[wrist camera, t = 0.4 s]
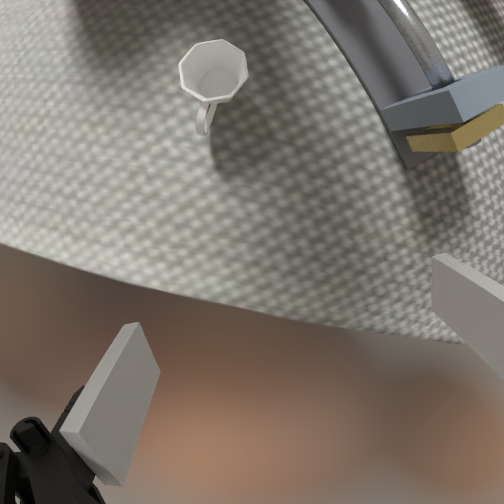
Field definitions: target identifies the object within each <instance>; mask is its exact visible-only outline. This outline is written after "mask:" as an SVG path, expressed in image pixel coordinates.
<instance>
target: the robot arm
mask: <svg viewBox="0 0 504 504" xmlns="http://www.w3.org/2000/svg"><path fill="white" fill-rule="evenodd" d="M431 310H432V311H433V312H434V313H435V314H436V315H437V316H438V317H439V318H440V319H442V320H443V321H444V322H445V323H446V324H447V325H448V326H449V327H450V328H451V329H452V330H453V331H454V332H456V333H457V334H458V335H459V336H460V337H461V338H462V339H463V340H464V341H465V342H466V343H467V344H468V345H469V346H470V347H471V348H472V349H473V350H474V351H475V352H476V353H477V354H478V355H480V357H481V358H483V360H485V361H486V362H487V364H489V366H490V367H492V369H493V370H494V371H495V372H497V374H498V375H499V376H500V377H501V378H502V379H503V380H504V286H502V285H500V284H499V283H497V282H495V281H494V280H492V279H490V278H489V277H487V276H485V275H484V274H482V273H480V272H479V271H477V270H475V269H473V268H472V267H470V266H468V265H466V264H464V263H463V262H461V261H459V260H457V259H456V258H454V257H452V256H450V255H448V254H446V253H442V254H438V255H435V256H432V306H431ZM159 375H160V370H159V368H158V366H157V363H156V361H155V359H154V357H153V354H152V352H151V349H150V347H149V345H148V342H147V340H146V338H145V335H144V333H143V330H142V328H141V326H140V323H139V322H137V323H131V324H125V325H124V326H123V327H122V329H121V330H120V332H119V333H118V335H117V336H116V338H115V339H114V341H113V343H112V344H111V346H110V347H109V349H108V350H107V352H106V354H105V355H104V357H103V358H102V360H101V361H100V363H99V365H98V366H97V368H96V370H95V371H94V373H93V374H92V376H91V378H90V379H89V381H88V383H87V384H86V386H82V387H81V388H80V389H79V390H78V391H77V392H76V393H74V395H73V396H72V398H71V400H70V401H69V405H67V406H66V408H65V409H64V412H63V413H62V414H61V416H60V418H59V419H58V421H57V423H56V425H55V426H54V428H53V430H52V431H51V433H50V432H49V431H48V430H47V428H46V427H45V426H44V424H43V423H42V422H41V420H40V419H39V418H37V417H27V418H24V419H22V420H21V421H19V422H18V423H17V424H16V425H15V426H14V427H13V428H12V430H11V433H10V438H11V439H12V440H13V442H14V443H15V444H16V445H17V447H18V448H19V449H20V450H21V452H13V451H12V449H11V448H10V447H9V446H8V445H7V444H6V443H0V504H17V503H16V501H15V495H16V496H17V497H18V498H19V499H20V504H106V503H105V502H104V500H103V498H102V496H101V494H100V492H99V490H98V488H97V487H96V486H95V485H94V484H93V480H94V477H95V475H96V476H97V477H98V478H99V479H100V481H101V482H102V483H103V484H104V485H113V486H124V483H125V479H126V476H127V473H128V469H129V466H130V463H131V460H132V456H133V453H134V450H135V447H136V443H137V441H138V438H139V434H140V431H141V428H142V425H143V422H144V419H145V416H146V413H147V410H148V407H149V404H150V401H151V398H152V395H153V392H154V390H155V386H156V384H157V381H158V378H159Z"/></svg>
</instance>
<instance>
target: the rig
mask: <svg viewBox="0 0 504 504" xmlns="http://www.w3.org/2000/svg"><path fill="white" fill-rule="evenodd" d="M305 2H306V3H307V4H308V5H309V7H310V8H311V9H312V10H313V12H314V13H315V14H316V16H317V17H318V18H319V20H320V21H321V22H322V24H323V25H324V27H325V28H326V29H327V31H328V32H329V34H330V35H331V36H332V38H333V39H334V41H335V42H336V44H337V45H338V47H339V48H340V50H341V51H342V53H343V54H344V56H345V57H346V59H347V60H348V62H349V63H350V65H351V67H352V68H353V70H354V71H355V73H356V75H357V76H358V78H359V80H360V81H361V83H362V85H363V86H364V88H365V90H366V91H367V93H368V95H369V97H370V98H371V100H372V102H373V104H374V106H375V107H376V109H377V111H378V113H379V115H380V117H381V118H382V120H383V122H384V124H385V126H386V128H387V130H388V132H389V134H390V136H391V138H392V140H393V142H394V144H395V146H396V148H397V150H398V153H399V155H400V157H401V159H402V161H403V163H404V166H405V168H406V169H408V170H409V169H411V168H413V167H414V166H416V165H418V164H419V163H421V162H423V161H424V160H426V159H428V158H429V157H431V156H433V155H435V154H436V153H438V152H420V151H417V152H413V151H412V149H411V147H410V145H409V143H408V141H407V138H406V136H408V135H410V134H411V133H413V132H415V131H417V130H419V129H421V128H423V127H426V126H434V125H442V124H451V123H461V122H465V121H467V120H468V119H470V118H472V117H474V116H476V115H477V114H479V113H481V112H483V111H484V110H486V109H488V108H490V107H492V106H493V105H495V104H497V103H499V102H501V101H502V100H504V65H502V66H498V67H494V68H490V69H487V70H483V71H479V72H476V73H472V74H468V75H465V76H462V77H458V78H455V81H456V82H455V83H453V84H450V85H448V86H446V87H444V88H441V89H438V90H434V91H433V89H432V87H431V85H430V83H429V81H428V79H427V77H426V76H425V74H424V72H423V70H422V68H421V66H420V65H419V63H418V61H417V60H416V58H415V56H414V54H413V53H412V51H411V49H410V48H409V46H408V45H407V43H406V41H405V40H404V38H403V37H402V35H401V34H400V32H399V30H398V29H397V27H396V26H395V24H394V23H393V22H392V20H391V19H390V17H389V16H388V14H387V13H386V12H385V10H384V9H383V7H382V6H381V5H380V3H379V2H378V1H377V0H305Z"/></svg>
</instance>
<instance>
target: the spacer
mask: <svg viewBox="0 0 504 504" xmlns="http://www.w3.org/2000/svg"><path fill="white" fill-rule="evenodd" d="M503 124H504V106H503V104H495V105H493V106H492V107H490V108H488V109H486V110H484V111H483V112H481V113H479V114H477V115H476V116H474V117H472V118H470V119H468V120H467V121H465V122H461V123H458V124H456V125H454V126H453V127H450V125H449V124H442V125H434V126H426V127H423V128H421V129H419V130H417V131H415V132H413V133H411V134H410V135H408V136H406V138H407V141H408V143H409V145H410V147H411V149H412V151H413V152H417V151H420V152H460V151H461V150H463V149H464V148H466V147H468V146H469V145H471V144H472V143H474V142H476V141H477V140H479V139H480V138H482V137H484V136H485V135H487V134H488V133H490V132H492V131H493V130H495V129H496V128H498V127H500V126H501V125H503Z"/></svg>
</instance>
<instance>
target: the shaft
mask: <svg viewBox="0 0 504 504" xmlns="http://www.w3.org/2000/svg"><path fill="white" fill-rule="evenodd" d="M377 1H378V2H379V3H380V5H381V6H382V7H383V9H384V10H385V12H386V13H387V14H388V16H389V17H390V19H391V20H392V22H393V23H394V24H395V26H396V27H397V29H398V30H399V32H400V34H401V35H402V37H403V38H404V40H405V41H406V43H407V45H408V46H409V48H410V49H411V51H412V53H413V54H414V56H415V58H416V60H417V61H418V63H419V65H420V66H421V68H422V70H423V72H424V74H425V76H426V77H427V79H428V81H429V83H430V85H431V87H432V89H433V91H434V90H438V89H441V88H444V87H446V86H448V85H450V84H453V83H455V82H456V81H455V79H454V77H453V75H452V73H451V71H450V69H449V68H448V66H447V64H446V62H445V60H444V58H443V57H442V55H441V53H440V51H439V49H438V48H437V46H436V44H435V43H434V41H433V39H432V38H431V36H430V34H429V33H428V31H427V30H426V28H425V27H424V25H423V23H422V22H421V20H420V19H419V17H418V16H417V14H416V13H415V11H414V10H413V9H412V7H411V6H410V4H409V3H408V2H407V0H377ZM456 124H458V123H451V124H449V125H450V127H453V126H454V125H456ZM480 142H481V139H479V140H477V141H476V142H474V143H472V144H471V145H469V146H468V147H466V148H469V147H472V146H474V145H477V144H478V143H480Z"/></svg>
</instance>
